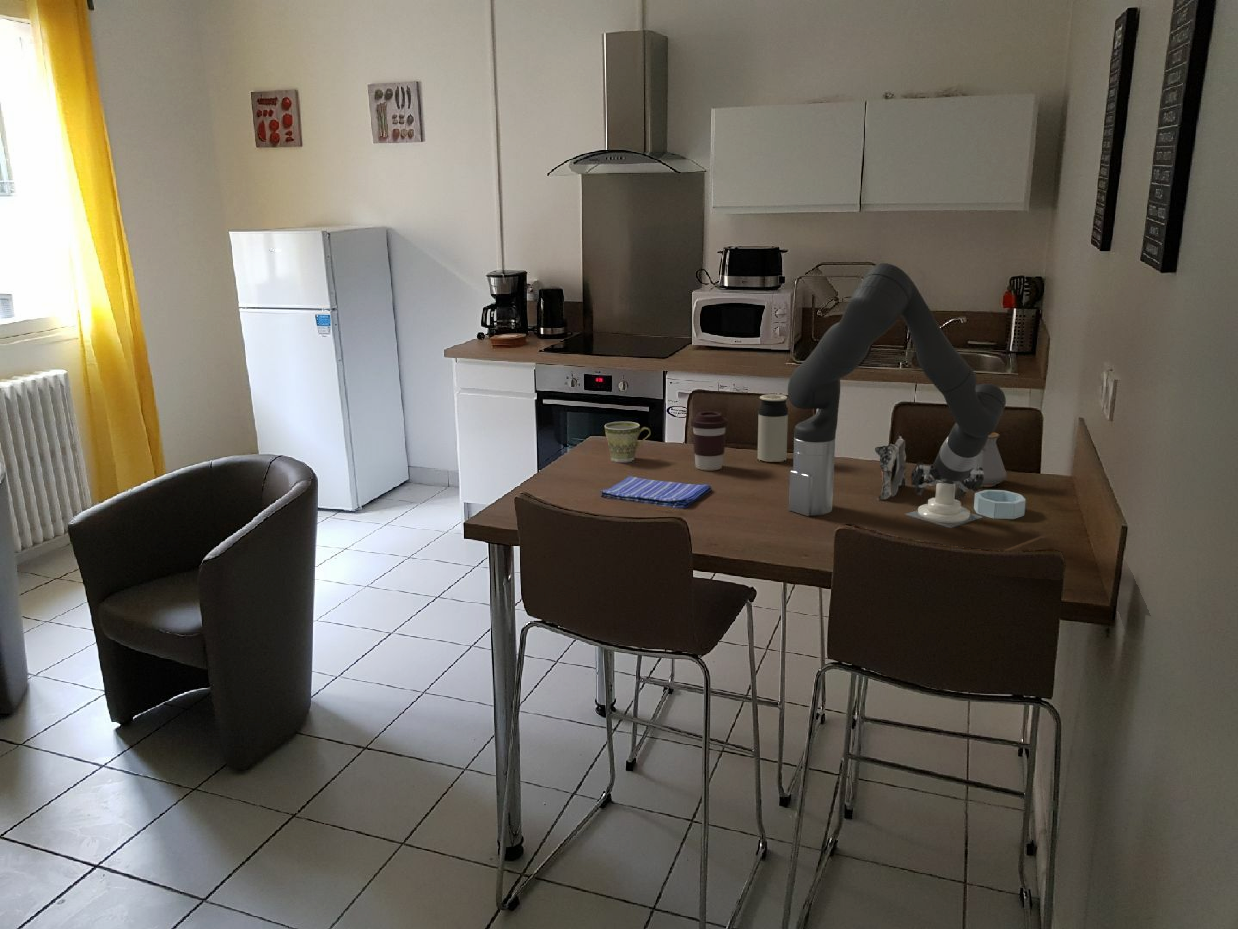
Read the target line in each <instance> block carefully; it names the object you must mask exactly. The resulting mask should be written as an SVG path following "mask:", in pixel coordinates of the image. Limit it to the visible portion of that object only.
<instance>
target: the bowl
mask: <svg viewBox="0 0 1238 929" xmlns="http://www.w3.org/2000/svg"><path fill="white" fill-rule="evenodd" d="M1026 500H1027V499H1025V497H1024V496H1023V495H1022V494H1020V493H1016V492H1012V491H1008V490H1003V489H1002V490H1001V489H984V490H981V491H976V492H975V493H974V503H973V509H974V511H975V512H976V515H979V516H982V517H987V518H991V519H997V520H998V519H999V520H1000V519H1001V520H1015V519H1018V518H1020V517H1021V518H1022V517H1023V516H1025V513H1026V512H1025V511H1026V502H1027V501H1026Z"/></svg>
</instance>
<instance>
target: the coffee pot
mask: <svg viewBox="0 0 1238 929" xmlns="http://www.w3.org/2000/svg"><path fill="white" fill-rule="evenodd" d="M999 437H1000V434H999V433H997V432H994V431H993V433H992V434H990V435H989V436H988V439H987V442H986V444H985V445H984V447H983V449H982V451H981V454H980V457H979V459H978V461H977V462H976V464H975V466H974V468H973V469H972V470H975V471H976V470H977V468H983V474H984V479H983V481H982V484H981V485H996V484H998V485H999V484H1000V483H1002V482H1003V481H1004V480H1005V479H1006V477H1007V476H1008V475H1007V471H1006V469H1005V465H1004V462H1003V460H1002V457H1001V454H1000V451H999V449H998V445H997V440H998V438H999ZM972 479H973V478H972V476H970V477H969V478H968V480H969V481H972Z"/></svg>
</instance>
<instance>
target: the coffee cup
mask: <svg viewBox="0 0 1238 929" xmlns="http://www.w3.org/2000/svg"><path fill="white" fill-rule="evenodd" d="M728 420H729V419H728V418H726V417H724V416H723V413H721V412H717V411H701V412H697V413H696V415H695V417H693V418H691V419H690V426H691V427H693V428H692V429H693V430H692V440H693V454H694V459H695V460H694V461H695V468H696V469H698V470H700V471H707V472H708V471H711V472H712V471H713V472H714V471H718V470H721V469H722V468H723V461H724V454H725V447H726V435H727V432H726V427H728V425H729V424H728V423H729V421H728Z"/></svg>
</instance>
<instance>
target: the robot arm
mask: <svg viewBox="0 0 1238 929" xmlns="http://www.w3.org/2000/svg"><path fill="white" fill-rule="evenodd" d="M933 314H934V313H932V311H931V309H930V307H929V306H928V304H927V303H926V301H925V299H924V298H923V296H922V293H921V292H920V291H919V289H918V287H917V286H916V285H915V282H914V281H913V280H912V279H911V277H910V276H909V275H908V274H907V273H906V272H905V270H903V269H902V268H900V267H898V266H897V265H894V264H891V263H885V262H883V263H877V264H875V265H874V266H872V267H871V269H869V271H868V272H867V273H866V274H865V275H864V277H863V279H862V281H861V282H860V284H859V285H858V286H857V288H856V289H855V291H853V293H852V295H851V297H850V298H849V300H848V303H847V305H846V307H845V310H844V313H843V315H842V316H841V319H840V320H839V321H838V322H836V323H835V324H833V325H831V326H830V327H829V328H828V330H827V331H826V332H824V334H823V335H822V337H821V339H820V340H819V341H818V343H817V345H816V347H815V348H814V349H813V350H812V352H811V353H810V354H809V356H808V357H807V358H806V359H805V360H803V362H802V363H801V364H799V365H798V366H797V368H795V369H794V371H793V373H791V376H790V378H789V381H788V385H787V399H788V400H789V402H790V404H791V405H792V406H793V407H794V408H796V409H800V410H817V411H816V413H814V414H813V415H812V416H810V418H807V419H805V420H803V421H799V422H798V423H797V424H795V427H794V432H793V460H792V461H793V462H792V464H793V465H792V470H790V471H789V486H788V487H789V490H788V511H791V512H794V513H797V514H799V515H803V516H805V517H810V516H823V515H825V514H828V513H831V512H832V511H833V499H834V498H833V496H834V495H833V494H834V493H833V492H834V479H835V478H834V476H835V475H834V474H835V472H834V471H835V451H836V434H837V428H838V421H839V409H840V408H839V407H840V399H841V379H842V378H844V377H846V376H848V375H849V374H852V372H854V371H855V370H856V368H858V366H859V365H861V363H862V362H863V361H864V359H865V357H866V356H867V355H868V353H869V352H870V348H871V345H872V344H873V343H874V342H876V341H877V340H878V339H879V338H880V337H882V336H883V335H884V334H886V333H887V332H888V331H889V330H891V328H893V326H894V325H896V323H897V322H898V321H899V318H900V317H901V318H902V319H903V321H904V322H905V324H906V326H907V328H908V331H909V334H910V337H911V340H912V344H913V348H914V351H915V355H916V357H917V362H918V363H919V364H918V365H919V366H920V368H921V371H922V372H923V373H924V375H925V376H926V378H927V379H928V381H930V382H931V383H932V385H933V386H934V387H935V388H937V390H938V391H939V392H940V393H941V394H942V395H943V398H944V400H945V402H946V405H947V406H948V409H949V411H950V413H951V416H952V417H953V419H954V421H955V423H954V425H952V428H951V430H950V432H949V434H948V435H947V437H946V439H945V440H944V441H943V443H942V445H941V446H940V449H939V452H938V453H937V456H936V457H935V460H934V462H933V464H931V465H924V462H922V461H918V462H917V463H916V465H915V467H914V468H913V470H912V472H911V473H910V484H911V486H914V492H915V494H917V495H918V496H921V495H922V494H923V492H924V490H925V487H927V486H931V487H932V486H936V484H937V483H948V484H956V485H955V486H957V489H956V490H955V495H956V500H962V498H964V497H965V496H966V494H967V493H968V492H969V491H970V490H972V491H973V492H979V490H980V488H981V487H980V486H981V484H982V481H983V479H984V474H983V468H977V470H976V471H975V470H972V469H973V468H974V466H975V464H976V462H977V461H978V459H979V457H980V454H981V451H982V449H983V447H984V445H985V444H986V442H987V439H988V436H989V435H990V434H992V433H993V432H994V431H995V430H996V428H997V426H998V425H999V421H1000V419H1001V416H1002V415H1003V412H1004V410H1005V407H1006V404H1007V399H1006V395H1005V392H1004V391H1003V390H1002V389H1001V387H999V386H997V385H995V384H994V383H981V384H978V385H977V382H978V379H977V375H976V372H975V371H974V369H973V368H972V367H971V366H970V365H969V364H968V362H967V361H966V360H965V359H964V358H963V356H961V354H960V353H959V352H958V350H956V349H955V347H954V346H953V345H952V343H951V342H950V340H949V339H948V338H947V337H946V334H944V332H943V330H942V328H941V326H940V325H939V323H938V322H937V320H936V318H935V316H934V315H933ZM970 476H972V478H973V479H972V481H969V480H968V478H969V477H970ZM925 479H926V480H925Z"/></svg>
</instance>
